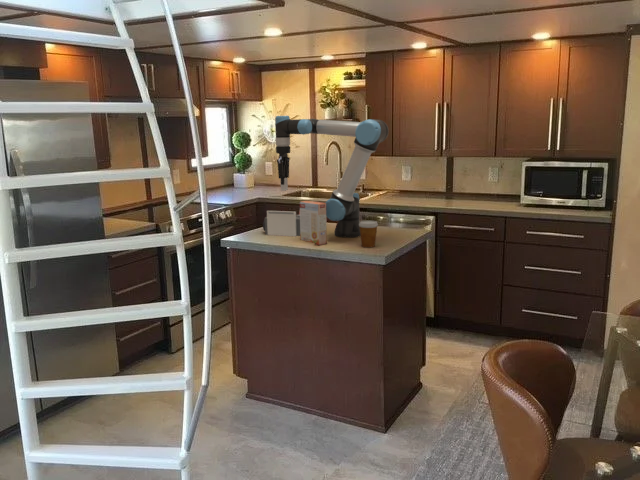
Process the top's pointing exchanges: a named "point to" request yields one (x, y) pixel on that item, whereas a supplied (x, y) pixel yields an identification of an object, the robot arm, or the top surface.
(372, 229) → the disposable coffee cup
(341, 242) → the top surface
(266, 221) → the block
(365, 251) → the top surface
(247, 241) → the top surface
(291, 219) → the side door
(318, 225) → the cracker box
